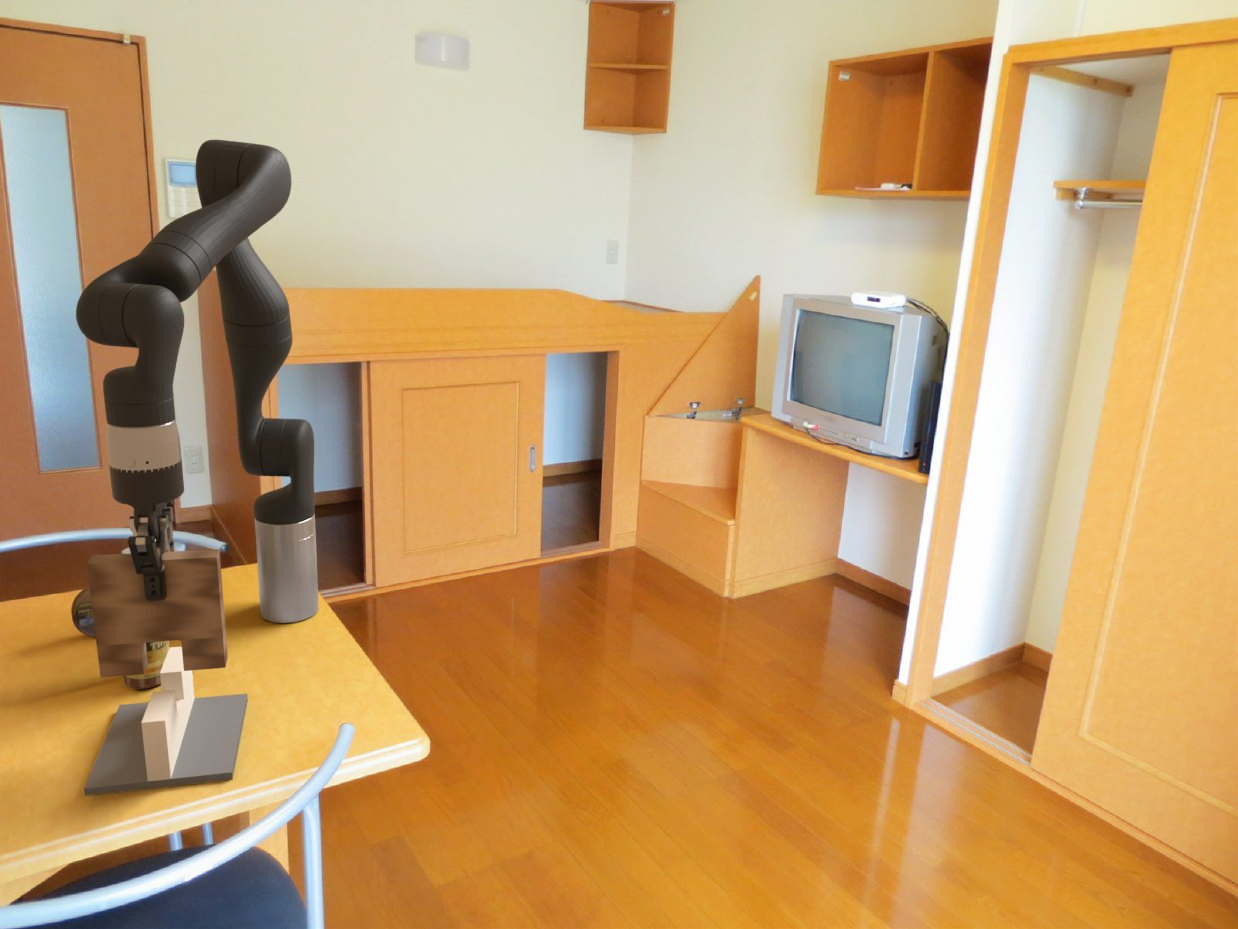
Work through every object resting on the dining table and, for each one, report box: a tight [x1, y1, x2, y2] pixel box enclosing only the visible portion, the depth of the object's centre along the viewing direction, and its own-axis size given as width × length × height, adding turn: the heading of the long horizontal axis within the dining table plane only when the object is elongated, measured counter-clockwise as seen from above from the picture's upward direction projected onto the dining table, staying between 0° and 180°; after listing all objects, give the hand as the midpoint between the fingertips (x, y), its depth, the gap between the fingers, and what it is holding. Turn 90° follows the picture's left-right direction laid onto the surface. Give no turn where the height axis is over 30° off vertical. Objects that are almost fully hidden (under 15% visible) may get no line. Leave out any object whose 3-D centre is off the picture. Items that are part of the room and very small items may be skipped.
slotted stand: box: [83, 646, 249, 796], centre depth 115 cm, size 18×16×9 cm
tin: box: [70, 585, 96, 639], centre depth 143 cm, size 15×3×8 cm, turn 126°
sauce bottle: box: [120, 547, 171, 690], centre depth 128 cm, size 7×6×20 cm
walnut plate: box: [86, 548, 229, 678], centre depth 111 cm, size 14×2×15 cm, turn 106°
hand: (158, 593), depth 110 cm, fingers closed on walnut plate, 2 cm apart
